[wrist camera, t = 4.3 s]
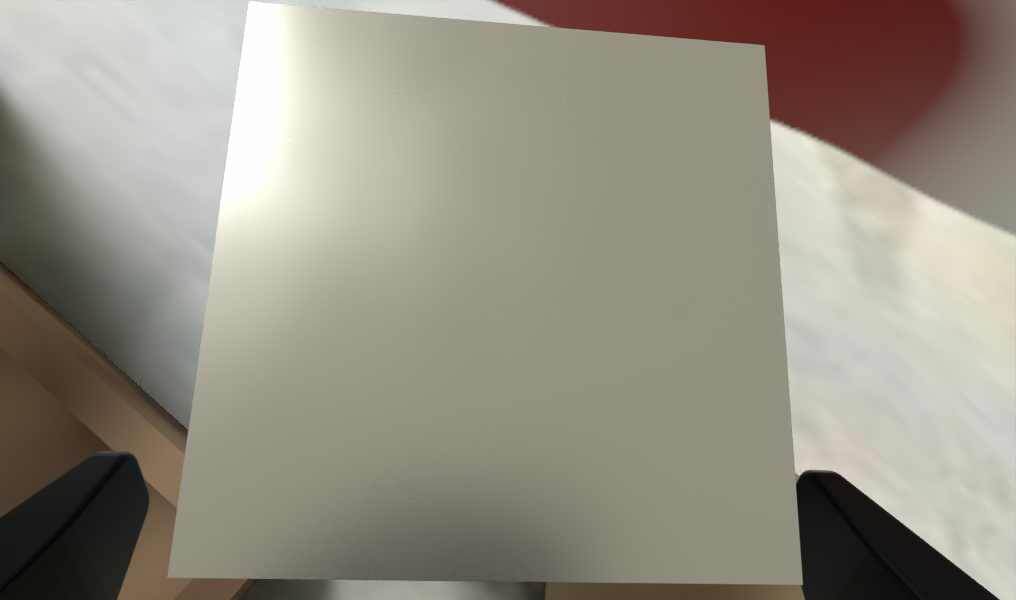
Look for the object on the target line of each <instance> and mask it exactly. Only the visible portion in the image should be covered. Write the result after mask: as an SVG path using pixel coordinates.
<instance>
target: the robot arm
mask: <svg viewBox="0 0 1016 600" xmlns="http://www.w3.org/2000/svg"><path fill="white" fill-rule="evenodd" d="M796 495H797V509H798V523H799V537H800V551H801V565H802V579H803V585H801V587H802V591H803V594H804V598H805V600H999V599H998V598H997V597H996V596H994V595H993V594H992V593H991V592H989V591H988V590H987V589H985V588H984V587H983V586H982V585H980V584H979V583H978V582H976V581H975V580H974V579H973V578H971V577H970V576H969V575H968V574H966V573H965V572H964V571H962V570H961V569H960V568H959V567H957V566H956V565H955V564H953V563H952V562H951V561H950V560H948V559H947V558H946V557H945V556H943V555H942V554H941V553H939V552H938V551H937V550H936V549H934V548H933V547H932V546H930V545H929V544H928V543H927V542H925V541H924V540H923V539H922V538H920V537H919V536H918V535H916V534H915V533H914V532H913V531H911V530H910V529H909V528H907V527H906V526H905V525H904V524H902V523H901V522H900V521H899V520H897V519H896V518H895V517H893V516H892V515H891V514H890V513H888V512H887V511H886V510H884V509H883V508H882V507H881V506H879V505H878V504H877V503H876V502H874V501H873V500H872V499H870V498H869V497H868V496H867V495H865V494H864V493H863V492H861V491H860V490H859V489H858V488H856V487H855V486H854V485H852V484H851V483H850V482H849V481H847V480H846V479H845V478H844V477H842V476H841V475H839V474H838V473H836V472H833V471H826V470H807V471H805V472H803V473H802V474H801V475H800V477H799V479H798V481H797V483H796ZM149 503H150V496H149V491H148V488H147V485H146V482H145V479H144V477H143V474H142V471H141V468H140V465H139V463H138V460H137V458H136V456H135V455H134V454H133V453H131V452H128V451H99V452H96V453H94V454H92V455H90V456H89V457H87V458H86V459H84V460H83V461H81V462H80V463H79V464H77V465H76V466H74V467H73V468H71V469H70V470H68V471H67V472H65V473H64V474H63V475H61V476H60V477H58V478H57V479H55V480H54V481H52V482H51V483H50V484H48V485H47V486H45V487H44V488H42V489H41V490H39V491H38V492H36V493H35V494H34V495H32V496H31V497H29V498H28V499H26V500H25V501H23V502H22V503H20V504H19V505H18V506H16V507H15V508H13V509H12V510H10V511H9V512H7V513H6V514H5V515H3V516H2V517H0V600H117V599H118V596H119V593H120V590H121V588H122V585H123V582H124V579H125V576H126V573H127V570H128V567H129V565H130V562H131V559H132V556H133V553H134V550H135V547H136V544H137V541H138V539H139V536H140V533H141V530H142V527H143V524H144V521H145V518H146V516H147V513H148V509H149Z"/></svg>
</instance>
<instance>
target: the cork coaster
mask: <svg viewBox="0 0 1016 600" xmlns="http://www.w3.org/2000/svg"><path fill="white" fill-rule="evenodd" d="M799 477H800V476H799V475H797V474H796V473H795V481H796V483H797V481H798V479H799ZM544 600H805V598H804V594H803V591H802V587H801V585H768V584H679V583H590V582H546V585H545V597H544Z"/></svg>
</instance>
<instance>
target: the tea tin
mask: <svg viewBox="0 0 1016 600" xmlns="http://www.w3.org/2000/svg"><path fill="white" fill-rule="evenodd" d="M167 578H235V579H323V580H412V581H501V582H590V583H679V584H768V585H803V579H802V565H801V551H800V537H799V523H798V509H797V495H796V481H795V467H794V453H793V439H792V425H791V411H790V397H789V383H788V369H787V355H786V341H785V327H784V313H783V299H782V285H781V271H780V257H779V243H778V229H777V215H776V201H775V187H774V173H773V159H772V145H771V131H770V117H769V105H768V89H767V76H766V61H765V47H764V45H753V44H741V43H730V42H718V41H706V40H694V39H682V38H671V37H659V36H648V35H636V34H624V33H612V32H601V31H588V30H576V29H565V28H553V27H542V26H530V25H518V24H506V23H495V22H483V21H471V20H459V19H448V18H436V17H424V16H412V15H400V14H389V13H377V12H365V11H353V10H342V9H330V8H318V7H306V6H295V5H283V4H271V3H259V2H249V7H248V14H247V22H246V29H245V36H244V43H243V50H242V57H241V64H240V71H239V78H238V85H237V92H236V99H235V106H234V113H233V120H232V127H231V134H230V141H229V148H228V155H227V162H226V169H225V176H224V183H223V190H222V197H221V204H220V211H219V218H218V225H217V232H216V239H215V246H214V253H213V260H212V267H211V274H210V281H209V288H208V295H207V302H206V309H205V317H204V324H203V331H202V338H201V345H200V352H199V359H198V366H197V373H196V380H195V387H194V394H193V401H192V408H191V415H190V422H189V429H188V436H187V443H186V450H185V457H184V464H183V471H182V478H181V485H180V492H179V499H178V506H177V513H176V520H175V527H174V534H173V541H172V548H171V555H170V562H169V569H168V576H167Z"/></svg>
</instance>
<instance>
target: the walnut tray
mask: <svg viewBox="0 0 1016 600" xmlns="http://www.w3.org/2000/svg"><path fill="white" fill-rule="evenodd" d="M187 436H188V430H187V429H186V428H185V427H184V426H183V425H182V424H180V423H179V422H178V421H177V420H176V419H175V418H174V417H173V416H172V415H170V414H169V413H168V412H167V411H166V410H165V409H164V408H163V407H162V406H160V405H159V404H158V403H157V402H156V401H155V400H154V399H153V398H152V397H150V396H149V395H148V394H147V393H146V392H145V391H144V390H143V389H141V388H140V387H139V386H138V385H137V384H136V383H135V382H134V381H133V380H131V379H130V378H129V377H128V376H127V375H126V374H125V373H124V372H123V371H121V370H120V369H119V368H118V367H117V366H116V365H115V364H114V363H113V362H111V361H110V360H109V359H108V358H107V357H106V356H105V355H104V354H103V353H101V352H100V351H99V350H98V349H97V348H96V347H95V346H94V345H93V344H91V343H90V342H89V341H88V340H87V339H86V338H85V337H84V336H82V335H81V334H80V333H79V332H78V331H77V330H76V329H75V328H74V327H72V326H71V325H70V324H69V323H68V322H67V321H66V320H65V319H64V318H62V317H61V316H60V315H59V314H58V313H57V312H56V311H55V310H54V309H52V308H51V307H50V306H49V305H48V304H47V303H46V302H45V301H44V300H42V299H41V298H40V297H39V296H38V295H37V294H36V293H35V292H34V291H32V290H31V289H30V288H29V287H28V286H27V285H26V284H25V283H23V282H22V281H21V280H20V279H19V278H18V277H17V276H16V275H15V274H13V273H12V272H11V271H10V270H9V269H8V268H7V267H6V266H5V265H3V264H2V263H1V262H0V517H2V516H3V515H5V514H6V513H7V512H9V511H10V510H12V509H13V508H15V507H16V506H18V505H19V504H20V503H22V502H23V501H25V500H26V499H28V498H29V497H31V496H32V495H34V494H35V493H36V492H38V491H39V490H41V489H42V488H44V487H45V486H47V485H48V484H50V483H51V482H52V481H54V480H55V479H57V478H58V477H60V476H61V475H63V474H64V473H65V472H67V471H68V470H70V469H71V468H73V467H74V466H76V465H77V464H79V463H80V462H81V461H83V460H84V459H86V458H87V457H89V456H90V455H92V454H94V453H96V452H99V451H128V452H131V453H133V454H134V455H135V456H136V458H137V460H138V463H139V465H140V468H141V471H142V474H143V477H144V479H145V482H146V485H147V488H148V491H149V496H150V503H149V509H148V513H147V516H146V518H145V521H144V524H143V527H142V530H141V533H140V536H139V539H138V541H137V544H136V547H135V550H134V553H133V556H132V559H131V562H130V565H129V567H128V570H127V573H126V576H125V579H124V582H123V585H122V588H121V590H120V593H119V596H118V599H117V600H239V599H240V598H241V597H242V595H243V594H244V593H245V592H246V591H247V590H248V588H249V587H250V586H251V585H252V584H253V583H254V582H255V580H256V579H235V578H167V576H168V569H169V562H170V555H171V548H172V541H173V534H174V527H175V520H176V513H177V506H178V499H179V492H180V485H181V478H182V471H183V464H184V457H185V450H186V443H187Z"/></svg>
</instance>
